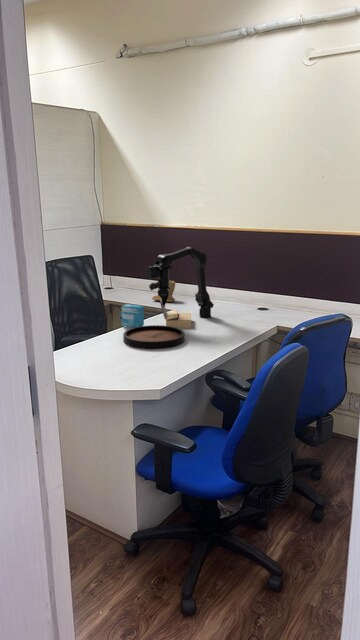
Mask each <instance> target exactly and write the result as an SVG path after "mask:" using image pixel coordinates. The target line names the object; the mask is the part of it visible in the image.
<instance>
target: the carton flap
mask: <svg viewBox="0 0 360 640" xmlns="http://www.w3.org/2000/svg"><path fill="white" fill-rule="evenodd" d="M159 303H160V307H161V312H162V314H163V317H164V320H165V321H166V320H169V319H173V318H177V317H178V314H179V309H175V310H171V311H167V309H166V305H165V306H163V304H162V300H161V301H160V302H159Z"/></svg>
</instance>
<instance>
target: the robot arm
mask: <svg viewBox="0 0 360 640" xmlns="http://www.w3.org/2000/svg"><path fill="white" fill-rule="evenodd" d="M187 256H189V257H190V258H192V262H193V264H194V266H195V270H196V278H197V279H196V280H197V289H198V290H197V293H195V294H194V296H195V302H196V303H197V305H198V307H200V308H199V309H198V310H199V312H198V313H199V314H198V315H199V317H200V319H201V318H202V319H203V318H205V319H206V318H210V319H211V318H212V313H211V312H212V309H213V308H214V305H215V303H213V302H212V301H211V297H210V294H209V292H208V291H207V281H206V268H205V267H206V265H207V259H208V258H207V254H206V253H204V252H201V251H198V250H197V249H195V248H194V247H191V246H187V247H185V248H181V249H179V250H176V251H174V252H171V253H163V254H159V255H158V256H157V259H156V260H155V262H154V264H153V265H152V266H147V269H146V272H145V276H146V278H147V279H148V280H152V279H158V281H155V282H151V283H150V284H148V288H149V289H150V291H154V290H155V289H158V290H157V295H158V296H160V297H161V300H162V304H163V306H165V307H166V305H167V302H166V301H167V299H168V296H169V292H170V285H169V281H170V270H172V269H173V267H172V266H171V264H173V263H174V261H177V260H179V259H182V258H184V257H187ZM168 289H169V290H168Z"/></svg>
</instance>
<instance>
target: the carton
mask: <svg viewBox="0 0 360 640" xmlns="http://www.w3.org/2000/svg"><path fill="white" fill-rule="evenodd" d="M165 326H170V327H175V328H178V329H192V313H191V312H178V317H177V318H173V319H169V320H166V319H165Z"/></svg>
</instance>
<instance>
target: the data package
mask: <svg viewBox="0 0 360 640" xmlns="http://www.w3.org/2000/svg"><path fill="white" fill-rule="evenodd" d="M144 308H145V307H144V306H143V305H140V304H128V303H127V304H124V305H122V306H121V312H120V313H121V314H120V315H121V325H122V326H123V327H126V328H134V327H140V326H145V311H144V310H145V309H144Z"/></svg>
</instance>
